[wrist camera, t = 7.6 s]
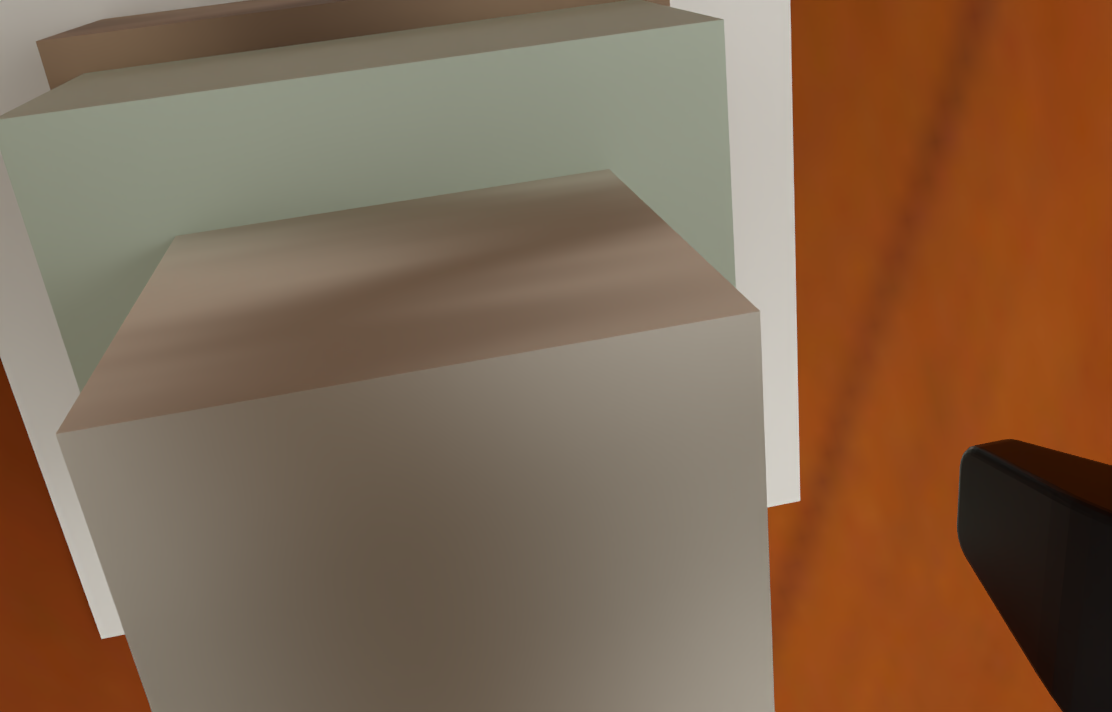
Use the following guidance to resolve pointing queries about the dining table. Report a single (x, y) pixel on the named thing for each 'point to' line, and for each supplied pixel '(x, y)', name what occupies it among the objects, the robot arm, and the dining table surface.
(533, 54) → the sage block
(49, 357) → the board
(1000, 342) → the dining table surface
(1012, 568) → the robot arm
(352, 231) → the cream block
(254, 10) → the walnut block
